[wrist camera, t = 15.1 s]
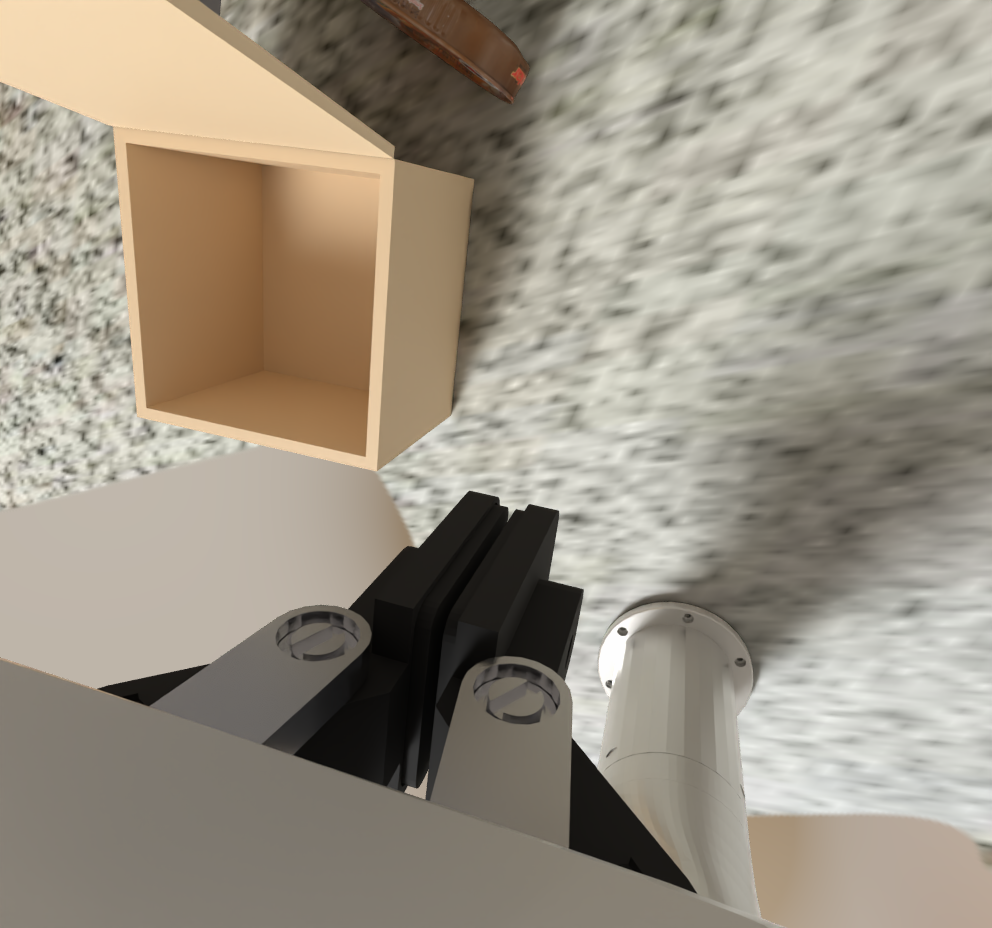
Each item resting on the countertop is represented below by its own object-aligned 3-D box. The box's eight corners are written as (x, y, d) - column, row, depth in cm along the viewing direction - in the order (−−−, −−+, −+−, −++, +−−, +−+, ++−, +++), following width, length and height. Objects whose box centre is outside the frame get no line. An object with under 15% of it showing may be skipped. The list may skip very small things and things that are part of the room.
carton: (450, 415, 54) (376, 471, 41) (259, 376, 58) (137, 416, 45) (474, 179, 47) (394, 159, 35) (256, 152, 51) (113, 126, 38)
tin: (349, -6, 46) (281, -55, 38) (370, -55, 44) (303, -115, 37) (523, 117, 45) (489, 93, 38) (549, 72, 44) (519, 38, 36)
